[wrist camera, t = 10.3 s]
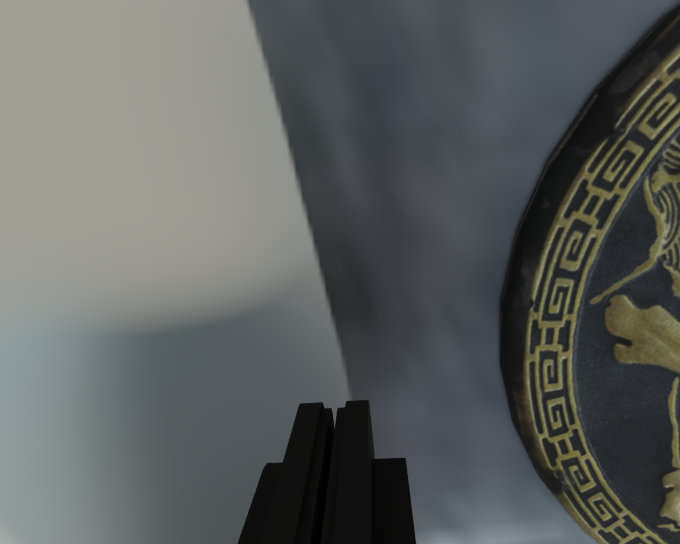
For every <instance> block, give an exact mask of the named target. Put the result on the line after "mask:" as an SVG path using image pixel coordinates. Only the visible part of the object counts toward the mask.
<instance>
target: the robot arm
mask: <svg viewBox="0 0 680 544" xmlns="http://www.w3.org/2000/svg"><path fill="white" fill-rule="evenodd" d="M238 544H416V539H415V531H414V523H413V515H412V507H411V498H410V490H409V482H408V474H407V466H406V459H405V458H387V459H375V455H374V445H373V435H372V426H371V416H370V406H369V400H358V401H346V406H345V407H344V408H338V409H337V416H336V424H335V428H334V421H333V413H332V409H331V408H325V409H324V405H323V403H322V402H320V403H304V404H303V403H302V404H300V405H299V407H298V411H297V415H296V418H295V421H294V425H293V429H292V432H291V435H290V439H289V442H288V446H287V449H286V454H285V457H284V460H283V463H267V464H266V465H265V467H264V469H263V471H262V474H261V477H260V480H259V483H258V486H257V489H256V492H255V494H254V497H253V500H252V503H251V506H250V509H249V512H248V515H247V518H246V521H245V524H244V527H243V530H242V533H241V535H240V538H239V542H238Z"/></svg>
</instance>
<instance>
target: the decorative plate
mask: <svg viewBox="0 0 680 544" xmlns="http://www.w3.org/2000/svg"><path fill="white" fill-rule="evenodd" d="M500 365H501V370H502V375H503V379H504V384H505V389H506V393H507V398H508V403H509V407H510V412H511V417H512V421H513V423H514V425H515V427H516V430H517V432H518V434H519V436H520V438H521V440H522V442H523V444H524V446H525V448H526V451H527V453H528V455H529V457H530V459H531V461H532V463H533V465H534V467H535V469H536V471H537V473H538V475H539V476H540V478H541V479H542V481H543V482H544V483H545V484H546V486H547V487H548V488H549V489H550V491H551V492H552V493H553V494H554V496H555V497H556V498H557V499H558V501H559V502H560V503H561V504H562V506H563V507H564V508H565V509H566V511H567V512H568V513H569V514H570V516H571V517H572V518H573V519H574V521H575V522H576V523H577V524H578V526H579V527H580V528H581V529H582V530H583V531H584V532H585V533H587V534H588V535H589V536H590V537H592V538H593V539H594V540H595V541H597V542H598V543H599V544H680V5H679V6H678V7H677V8H675V9H674V10H673V11H671V12H670V13H669V14H667V15H666V16H665V17H664V18H663V19H662V20H661V21H660V22H659V23H658V24H657V25H656V26H655V27H654V29H653V30H652V31H651V32H650V33H649V34H648V35H647V36H646V37H645V38H644V39H643V40H642V41H641V42H640V43H639V44H638V46H637V47H636V48H635V49H634V50H633V51H632V52H631V53H630V54H629V55H628V56H627V57H626V58H625V59H624V60H623V61H622V62H621V64H620V65H619V66H618V67H617V68H616V69H615V70H614V71H613V72H612V73H611V74H610V75H609V76H608V77H607V78H606V79H605V80H604V82H603V83H602V84H601V85H600V86H599V87H598V88H597V90H596V91H595V93H594V94H593V96H592V97H591V99H590V100H589V101H588V103H587V104H586V106H585V107H584V109H583V110H582V112H581V113H580V115H579V116H578V118H577V119H576V121H575V122H574V124H573V125H572V127H571V128H570V130H569V131H568V133H567V134H566V136H565V137H564V139H563V140H562V142H561V143H560V144H559V146H558V147H557V149H556V150H555V152H554V153H553V155H552V156H551V158H550V159H549V161H548V163H547V165H546V168H545V170H544V172H543V174H542V177H541V179H540V181H539V184H538V186H537V188H536V190H535V193H534V195H533V197H532V199H531V202H530V204H529V206H528V208H527V211H526V213H525V215H524V217H523V220H522V222H521V224H520V226H519V229H518V231H517V234H516V238H515V242H514V247H513V251H512V256H511V260H510V264H509V269H508V273H507V277H506V282H505V286H504V291H503V295H502V299H501V346H500Z"/></svg>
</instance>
